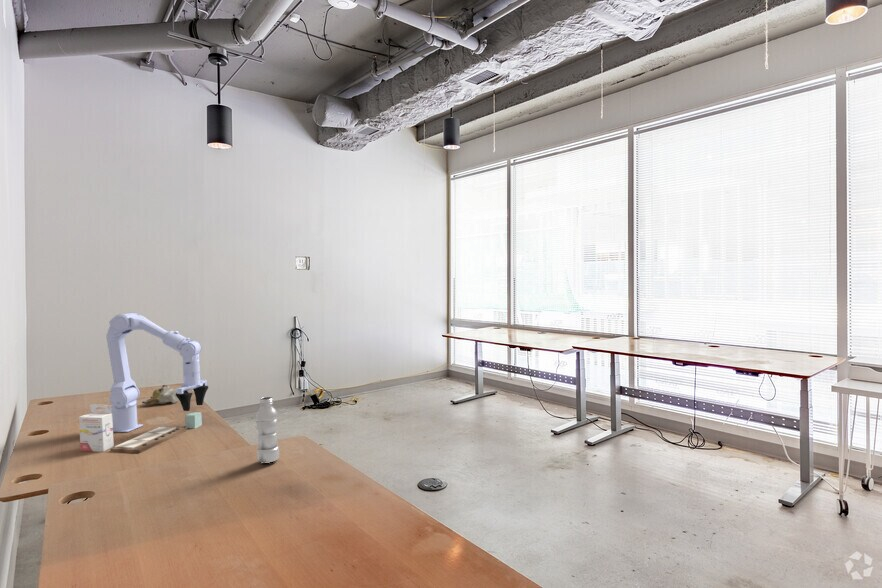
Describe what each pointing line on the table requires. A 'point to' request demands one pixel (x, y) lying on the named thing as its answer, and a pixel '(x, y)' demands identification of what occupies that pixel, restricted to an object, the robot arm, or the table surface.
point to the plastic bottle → (267, 431)
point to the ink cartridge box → (96, 429)
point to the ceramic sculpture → (163, 396)
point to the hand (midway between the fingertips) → (193, 407)
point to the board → (148, 439)
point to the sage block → (193, 420)
